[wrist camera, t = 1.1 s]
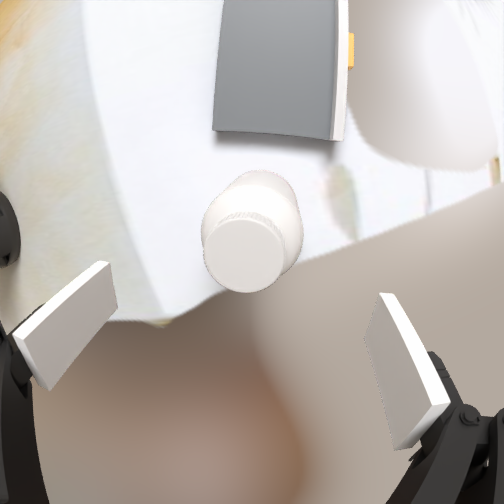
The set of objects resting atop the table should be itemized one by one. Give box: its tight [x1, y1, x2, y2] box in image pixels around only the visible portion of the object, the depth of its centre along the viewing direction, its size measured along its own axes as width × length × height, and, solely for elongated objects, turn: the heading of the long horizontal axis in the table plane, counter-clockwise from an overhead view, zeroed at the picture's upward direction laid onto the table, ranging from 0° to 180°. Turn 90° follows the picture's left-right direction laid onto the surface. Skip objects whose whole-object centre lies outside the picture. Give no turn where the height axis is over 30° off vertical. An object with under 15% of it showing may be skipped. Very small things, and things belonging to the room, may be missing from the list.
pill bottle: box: [201, 170, 304, 293], centre depth 24 cm, size 8×8×15 cm
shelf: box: [212, 0, 354, 141], centre depth 22 cm, size 14×20×4 cm
